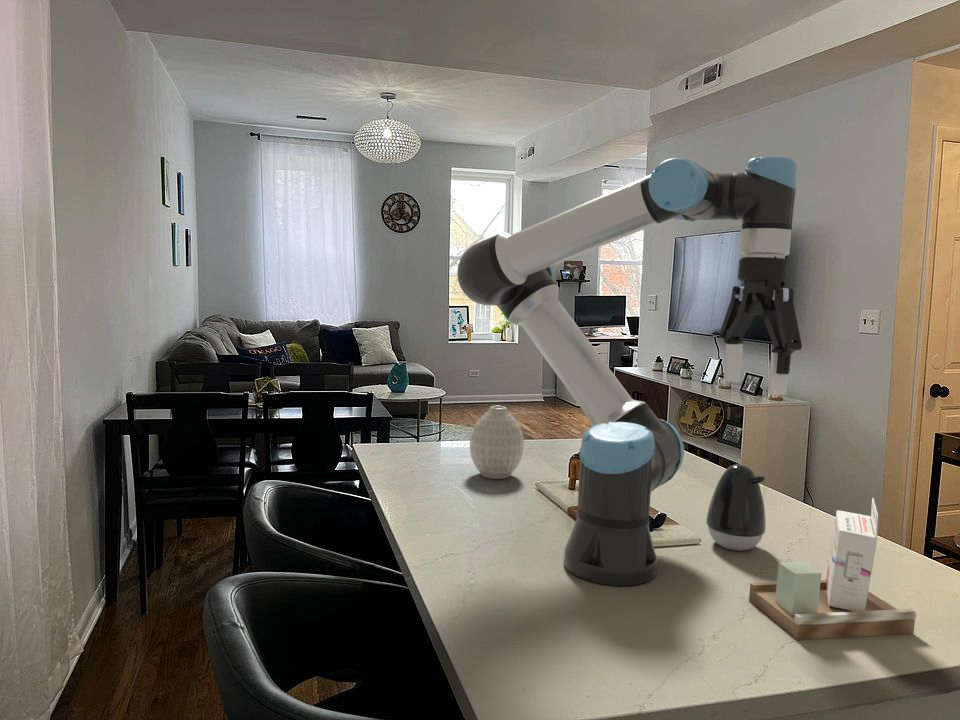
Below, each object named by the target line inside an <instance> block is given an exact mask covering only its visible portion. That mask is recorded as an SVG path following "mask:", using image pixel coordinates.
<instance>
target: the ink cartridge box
mask: <svg viewBox="0 0 960 720" xmlns="http://www.w3.org/2000/svg"><path fill="white" fill-rule="evenodd" d="M877 509H878V508H877V505H876V502H875V499H874V497H872V498H871V511H870V513H871V514H870V515H866V514H862V513H855V512H849V511H844V510H840V509H839V510H838V509H837V510H836V513H835V519H834V526H833V533H832V541H831V548H830V553H829V557H828V564H827V569H826V578H825V580H826V584H827V596H828V605H829V606H832V607H836V608H841V609H845V610H850V611H854V612H855V611H865V608H866V602H867V596H868V591H869V589H870V583H871V577H872V572H873V565H874V561H875V555H876V548H877V542H878V532H879V531H878V530H879V513H878V510H877Z"/></svg>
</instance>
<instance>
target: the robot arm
mask: <svg viewBox="0 0 960 720" xmlns="http://www.w3.org/2000/svg"><path fill="white" fill-rule="evenodd" d="M746 163H747V164H746V167H745V169H744V171H740V172H729V173H728V172H723V173H721V172H720V173H713V172H711V171H709V170H707V169H706V168H703V167H702V166H701V165H700V164H698V163H696V162H695V161H693V160H690V159H688V158H686V159H685V158H679V157H674V158H669V159H666V160H664V161H662V162H661V163H659V164H658V165H657V166H656V167H655V168H654V169H653V171H652V172H651V174H649V175H646V176H644V177H643V178H640V179H638V180H635V181H633V182H630V183H628V184H626V185H624V186H622V187H619V188H616V189H614V190H612V191H610V192H608V193H605V194H604V195H603V194H602V195H600V196H599V197H596V198H594V199H591V200H588V201H586V202H584V203H582V204H580V205H578V206H575V207H573V208H571V209H568V210H565V211H563V212H561V213H559V214H557V215H555V216H552V217H550V218H547V219H544V220H543V221H541V222H538V223H536V224H533V225H530V226H529V227H525V228H524V229H521V230H519V231H518V232H515V233H513V234H511V233H509V232H505V231H503V232H500V233H498V234H495V235H493V236H491V237H488V238H487V239H484V240H482V241H479V242H477V243H475V244H473V245H471V246H470V247H469V248H468V249H466V250H465V252H463V255H462V256H461V257H460V259H459V263H458V265H457V272H456V273H457V274H456V275H457V282H458V285H459V287H460V289H461V291H462V292H463V294H464V295H465V296H466V297H467V298H468V299H470V300H471V301H472V302H474V303H476V304H480V305H483V306H497V307H498V309H499V311H501V313H502V314H503V316H504V317H505V318H506V320H507V321H508V323H509V324H510V325H515V326H521V327H522V329H523V330H524V331H525V333H526V334H527V335H528V337H529V338H530V340H531V341H532V342H533V344H534V345H535V346H536V348H537V349H538V350H539V352H540V353H541V355H542V356H543V358H544V359H545V360H546V362H547V363H548V365H549V366H550V368H552V370H553V371H554V373H555V374H556V376H557V377H558V378H559V380H560V381H561V382H562V384H563V385H564V387H565V388H566V389H567V391H568V392H569V393H570V395H571V396H572V398H573V399H574V400H575V402H576V403H577V404H578V406H579V407H580V409H581V410H582V412H583V413H584V414H585V416H586V417H587V418H588V420H589V422H591V424H592V426H590V427H588V428H587V429H586V430H585V431H584V433H583V434H582V436H581V437H582V438H581V444H580V448H579V473H578V477H579V478H578V495H577V512H576V514H577V515H576V521H575V523H574V525H573V528H572V530H571V533H570V536H569V538H568V540H567V542H566V546H565V548H564V551H563V552H564V554H563V566H564V568H565V569H566V570H567V571H569V572H570V573H571V574H573V575H574V576H576V577H578V578H579V579H580V578H581V579H582V580H585V581H588V582H591V583H596V584H600V585H602V584H603V585H607V586H623V587H624V586H636V585H642V584H646V583H648V582H650V581H652V580H653V579H654V578H655V577H656V575H657V569H658V567H657V566H658V559H657V554H656V550H655V546H654V543H653V539H652V534H651V531H650V528H649V527H650V526H649V525H650V524H649V523H650V522H649V521H650V510H651V498H652V497H651V494H652V492H653V491H654V490H656V489H657V488H659V487H660V486H663V485H665V484H666V483H667V482H669V481H671V480H672V479H673V478H674V476H675V475H676V474H677V472H679V470H680V468H681V466H682V464H683V462H684V461H683V460H684V457H685V456H684V455H685V448H684V447H685V446H684V442H683V439H682V436H681V434H680V433H679V431H678V430H677V429H676V428H675V426H673V425H672V424H671V423H669V422H668V421H666V420H664V419H661V418H658V417H657V416H656V414H655V413H654V411H653V410H652V409H651V408H650V406H649V405H648V403H647V402H645V401H642V400H635V399H633V398H632V396H631V395H630V394H629V393H628V391H627V390H626V388H625V387H624V386H623V385H622V383H621V382H620V380H619V379H618V378H617V376H616V375H615V374H614V373H613V371H612V370H611V369H610V367H609V366H608V364H607V363H606V362H605V361H604V359H603V358H602V357H601V356H602V355H600V354H599V353H598V351H597V350H596V348H595V347H594V345H592V343H591V342H590V341H589V339H588V337H586V335H585V333H584V332H583V331H582V330H581V328H580V326H578V324H577V323H576V322H575V321H574V320H575V319H573V318H572V317H571V315H570V313H569V312H568V311H567V310H566V309H565V307H564V306H563V304H562V303H561V302H560V300H559V293H560V286H558V284H557V283H556V282H555V281H554V278H553V276H554V273H553V267H552V266H556V265H557V264H560V263H562V262H565V261H568V260H570V259H573V258H575V257H578V256H580V255H583V254H585V253H588V252H590V251H592V250H596V249H598V248H601V247H603V246H606V245H609V243H612V242H613V243H614V242H615V241H618V240H620V239H623V238H625V237H628V236H630V235H633V234H636V233H639V232H640V231H643V230H645V229H649V228H651V227H653V226H655V225H659V224H661V223H664V222H666V221H670V220H672V219H674V220H677V221H678V220H680V221H689V222H696V221H714V220H715V221H716V220H718V221H719V220H733V221H736V220H737V221H738V220H741V222H742V223H741V229H740V231H741V232H740V241H739V242H740V244H739V254H740V255H742V257H740V259H739V260H738V268H737V269H738V270H737V279H738V280H739V281H741V282H744V285H743V286H740V285H739V286H738V285H737V286H734V285H733V286H732V289H731V291H732V292H731V297H730V298H731V299H730V301H729V304H728V307H727V310H726V313H725V316H724V319H723V322H722V324H721V328H720V331H719V335H718V337H719V338H720V340H721V339H723V342H724V344H725V354H724V355H725V357H724V369H723V370H724V372H723V379H722V380H723V382H724V383H741V374H742V364H743V363H742V362H743V353H744V352H743V351H744V345H743V344H744V343H745V342H744V340H743V338H744V337H745V335H746V333H747V331H748V329H749V327H750V326H751V324H752V322H753V320H754V319H755V318H756V317H758V316H759V317H760V318H761V319H763V321H764V324H765V327H766V329H767V331H768V335H769V337H770V340H771V343H772V345H773V348H772V350H770V352H771V353H770V361H769V362H770V364H769V374H768V386H767V388H768V389H767V395H769V396H787V391H788V379H789V373H790V366H791V356H792V354H793V353H794V352H796V351H800V350H802V348H803V344H802V340H801V335H800V329H799V326H798V321H797V314H796V310H795V305H794V289H793V288H791V287H781V283H785V282H787V280H788V278H789V277H788V276H789V267H790V266H789V265H790V261H789V259H788V258H786V256H789V255H790V251H791V242H792V238H791V237H792V236H791V235H792V229H793V219H794V218H793V217H794V211H795V210H794V209H795V201H796V192H797V185H796V184H797V183H796V181H797V164H796V162H795V161H794V160H793V159H792V158H789V157H785V156H777V155H776V156H774V155H772V156H770V155H769V156H760V157H754V158H750V159H749V160H747V162H746Z"/></svg>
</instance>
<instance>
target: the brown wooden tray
mask: <svg viewBox="0 0 960 720" xmlns="http://www.w3.org/2000/svg"><path fill="white" fill-rule="evenodd" d="M749 586H750V587H749V598H748V601H749V602H750V603H751V604H752V605H753V606H755V608H757V609H758V610H760V611H761V612H762V613H763V614H765V615H766V616H767V617H768V618H769V619H770V620H772V621H773V622H774V623H776V624H777V625H778V626H779V627H780V628H782V629H783V630H784V631H785V632H786V633H787V634H789V635H790V636H791V637H792V638H794V640H796V641H797V640H798V641H804V640H817V639H818V640H819V639H820V640H822V639H839V638H840V639H841V638H843V639H844V638H856V637H875V636H876V637H877V636H880V637H881V636H893V635H896V636H897V635H899V636H900V635H914V633H915V625H916V624H915V623H916V619H917V613H916V611H915V610H914V609H912V608H903V609H902V608H901V609H898V608H896V607H895V606H893V605H892V604H890V603H888V602H886V601H885V600H884V599H881V598H880V597H878V596H876V595H875V594H873V593H872V592H870V591H869V590H868V596H867V602H866V608H865V611H855V612H854V611H850V610H845V609H841V608H836V607H832V606H829V605H828V596H827V584H826V579H823V580H822V579H821V583H820V594H819V604H818V613H812V614H795V615H791V614H789V613H788V612H787V611H785V610H784V609H783V608H782V607H780V606H779V605H778V604H776V603H775V598H776V587H777V581H774V582H773V581H770V582H769V581H768V582H765V581H764V582H750V583H749Z"/></svg>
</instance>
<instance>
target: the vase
mask: <svg viewBox="0 0 960 720" xmlns="http://www.w3.org/2000/svg"><path fill="white" fill-rule="evenodd" d="M469 439H470V440H469V452H470V457H471V458H470V459H472V464H474V466H475V468H476V470H477V471H478V472H479V474H481V476H482V477H484V478H485V479H489V480H490V479H491V480H504V479H507V478H509V477H510V476H511V475H512V474H513V473H514V472H515V471H516V470H517V468H518V467H519V465H520V463H521V461H522V458H523V455H524V448H525V443H524V442H525V441H524V435H523V432H522V428H521V426H520V424H519V422H518V421H517V419H516V418H515V417H514V416H513V415H512V413H511V412H509V410H508V407H506V406H503V405H491V406H490V407H489V409H488V410H487V412H485V413H484V414H482V415H481V416H480V418H479V419H478V420H477V422H475V425H474V427H473V428H472V431H471V433H470V438H469Z"/></svg>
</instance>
